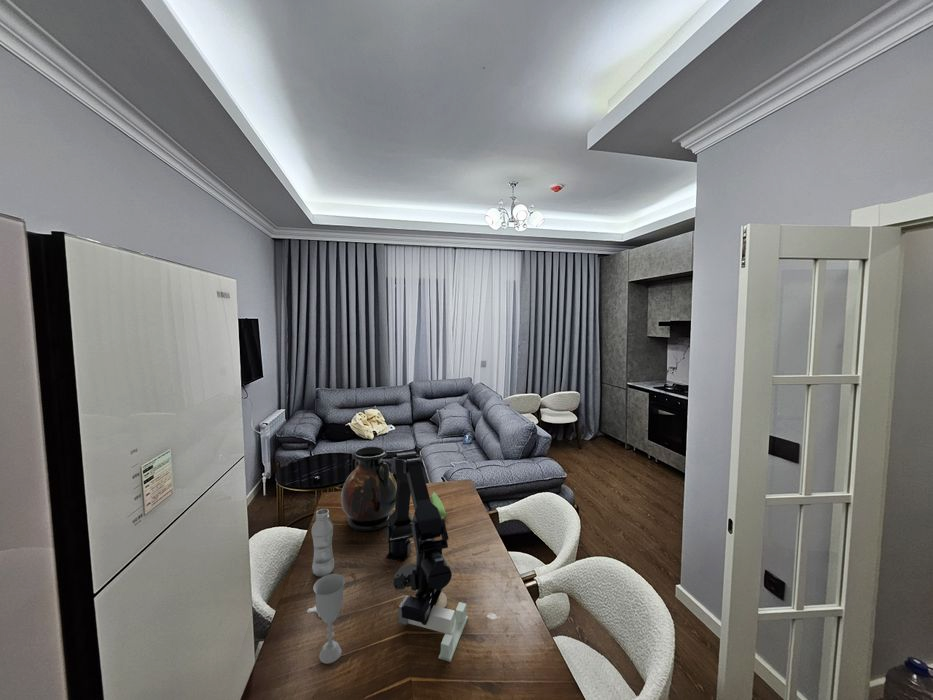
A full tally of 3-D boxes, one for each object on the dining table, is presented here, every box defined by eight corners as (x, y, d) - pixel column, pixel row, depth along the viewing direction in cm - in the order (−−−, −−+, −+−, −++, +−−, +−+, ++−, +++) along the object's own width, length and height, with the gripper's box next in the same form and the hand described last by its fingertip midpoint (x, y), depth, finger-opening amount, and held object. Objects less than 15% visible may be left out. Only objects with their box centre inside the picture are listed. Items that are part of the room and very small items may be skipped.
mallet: (455, 623, 102) (455, 607, 101) (449, 636, 98) (449, 620, 97) (405, 610, 106) (406, 595, 105) (398, 622, 102) (398, 606, 101)
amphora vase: (409, 517, 156) (410, 449, 153) (369, 544, 138) (368, 467, 135) (370, 502, 168) (370, 438, 165) (328, 525, 149) (327, 453, 147)
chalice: (327, 672, 89) (326, 599, 87) (308, 658, 93) (306, 587, 91) (352, 649, 95) (351, 580, 93) (333, 636, 99) (332, 570, 97)
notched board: (438, 658, 93) (438, 643, 93) (457, 615, 107) (457, 601, 106) (450, 662, 93) (450, 646, 92) (467, 617, 106) (468, 604, 105)
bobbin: (413, 609, 108) (413, 586, 108) (425, 590, 116) (425, 568, 115) (440, 617, 106) (441, 592, 105) (450, 596, 114) (451, 573, 113)
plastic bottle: (339, 568, 125) (338, 508, 123) (324, 582, 118) (323, 519, 116) (322, 563, 127) (321, 504, 125) (307, 577, 120) (306, 515, 118)
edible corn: (433, 514, 151) (445, 509, 152) (427, 491, 170) (437, 488, 171) (437, 526, 152) (448, 521, 153) (430, 502, 171) (440, 499, 172)
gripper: (413, 536, 111) (413, 587, 113) (380, 579, 93) (381, 639, 95) (451, 544, 108) (450, 596, 110) (424, 590, 90) (423, 652, 92)
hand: (426, 619), depth 102 cm, fingers closed on mallet, 3 cm apart
